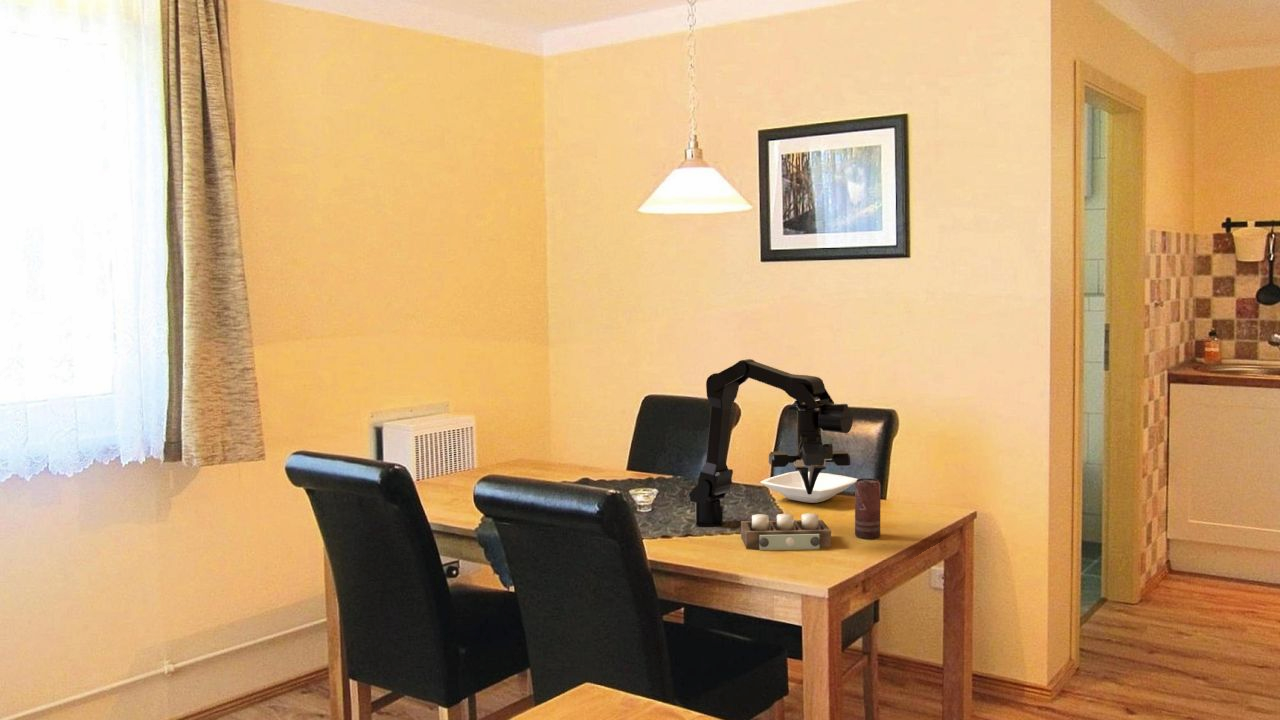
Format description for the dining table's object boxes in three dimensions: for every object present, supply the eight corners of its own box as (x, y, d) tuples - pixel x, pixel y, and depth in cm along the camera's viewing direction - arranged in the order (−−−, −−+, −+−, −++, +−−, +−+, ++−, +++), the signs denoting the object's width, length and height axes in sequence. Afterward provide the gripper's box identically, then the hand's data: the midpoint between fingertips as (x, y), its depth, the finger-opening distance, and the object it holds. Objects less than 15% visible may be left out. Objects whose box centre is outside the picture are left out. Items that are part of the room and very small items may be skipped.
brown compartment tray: (746, 548, 259) (746, 532, 259) (741, 537, 270) (741, 521, 270) (830, 547, 259) (830, 530, 259) (822, 535, 270) (822, 519, 270)
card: (759, 550, 258) (759, 535, 257) (759, 549, 258) (759, 535, 258) (819, 549, 258) (819, 534, 258) (819, 548, 259) (819, 533, 258)
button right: (803, 529, 263) (803, 517, 262) (800, 525, 266) (800, 513, 266) (819, 529, 263) (819, 517, 262) (816, 525, 267) (816, 513, 266)
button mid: (778, 530, 262) (778, 517, 262) (775, 526, 266) (775, 513, 266) (794, 529, 262) (794, 517, 262) (792, 525, 266) (792, 513, 266)
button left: (752, 530, 262) (752, 518, 262) (750, 526, 266) (750, 514, 266) (769, 530, 262) (769, 517, 262) (767, 526, 266) (767, 514, 266)
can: (876, 540, 265) (876, 483, 264) (851, 537, 268) (851, 481, 267) (884, 535, 270) (885, 479, 269) (860, 532, 273) (860, 476, 272)
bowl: (753, 502, 309) (753, 482, 309) (798, 488, 327) (798, 469, 326) (822, 513, 295) (822, 492, 294) (865, 498, 312) (865, 478, 312)
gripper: (774, 435, 254) (775, 502, 256) (855, 434, 254) (855, 500, 256) (768, 428, 265) (768, 492, 267) (845, 427, 266) (845, 490, 267)
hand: (809, 494), depth 264 cm, fingers closed
